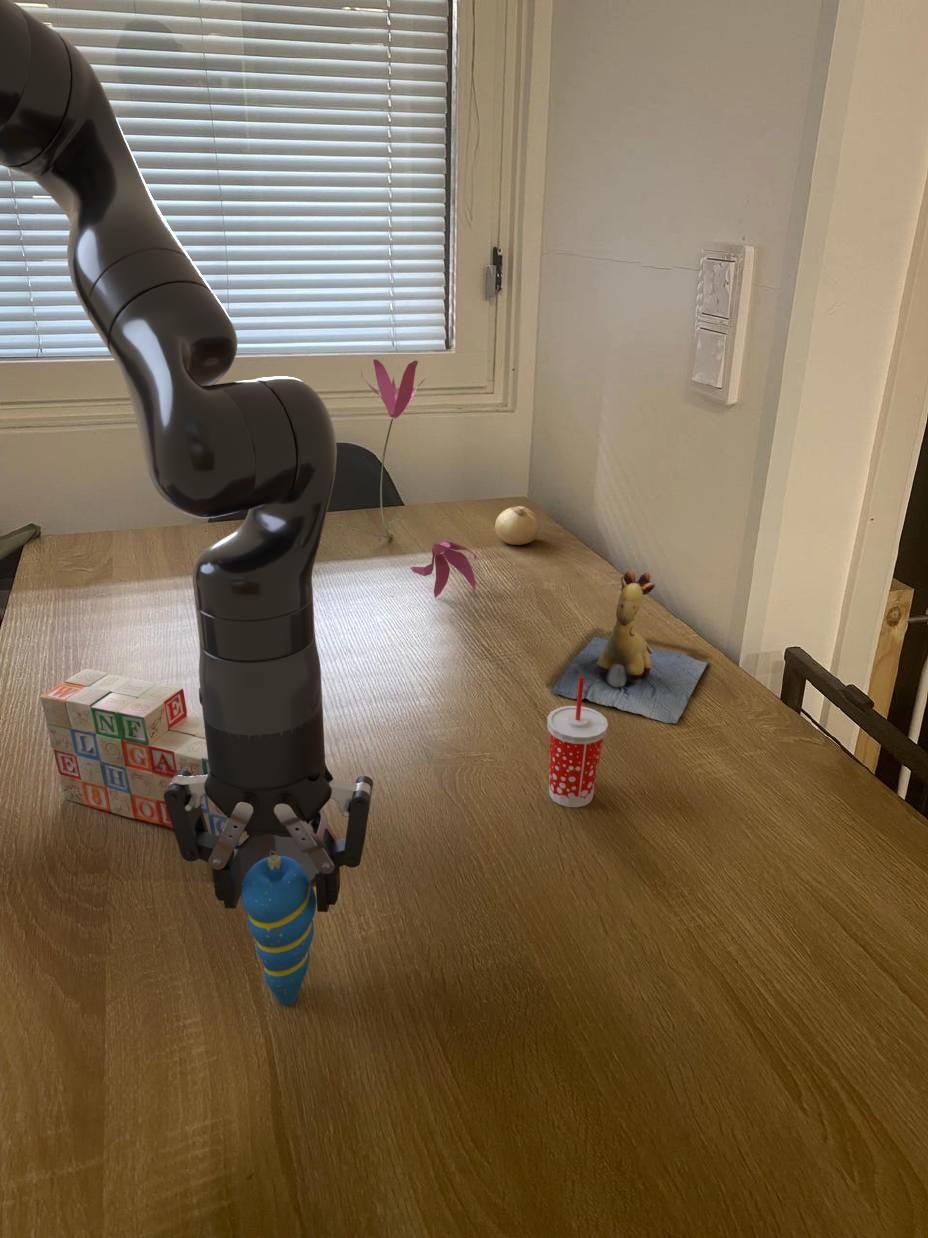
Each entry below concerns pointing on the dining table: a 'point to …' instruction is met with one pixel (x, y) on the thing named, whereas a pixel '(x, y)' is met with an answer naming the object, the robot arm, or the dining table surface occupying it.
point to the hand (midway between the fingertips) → (278, 901)
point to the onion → (517, 526)
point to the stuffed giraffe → (632, 666)
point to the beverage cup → (574, 752)
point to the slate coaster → (272, 853)
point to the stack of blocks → (126, 745)
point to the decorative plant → (395, 408)
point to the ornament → (280, 922)
